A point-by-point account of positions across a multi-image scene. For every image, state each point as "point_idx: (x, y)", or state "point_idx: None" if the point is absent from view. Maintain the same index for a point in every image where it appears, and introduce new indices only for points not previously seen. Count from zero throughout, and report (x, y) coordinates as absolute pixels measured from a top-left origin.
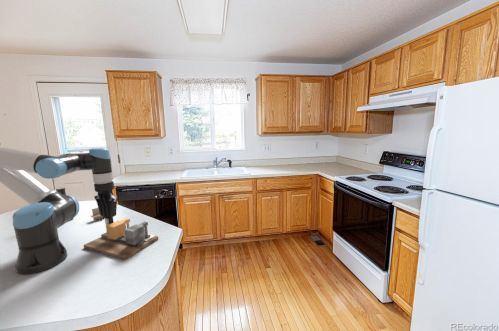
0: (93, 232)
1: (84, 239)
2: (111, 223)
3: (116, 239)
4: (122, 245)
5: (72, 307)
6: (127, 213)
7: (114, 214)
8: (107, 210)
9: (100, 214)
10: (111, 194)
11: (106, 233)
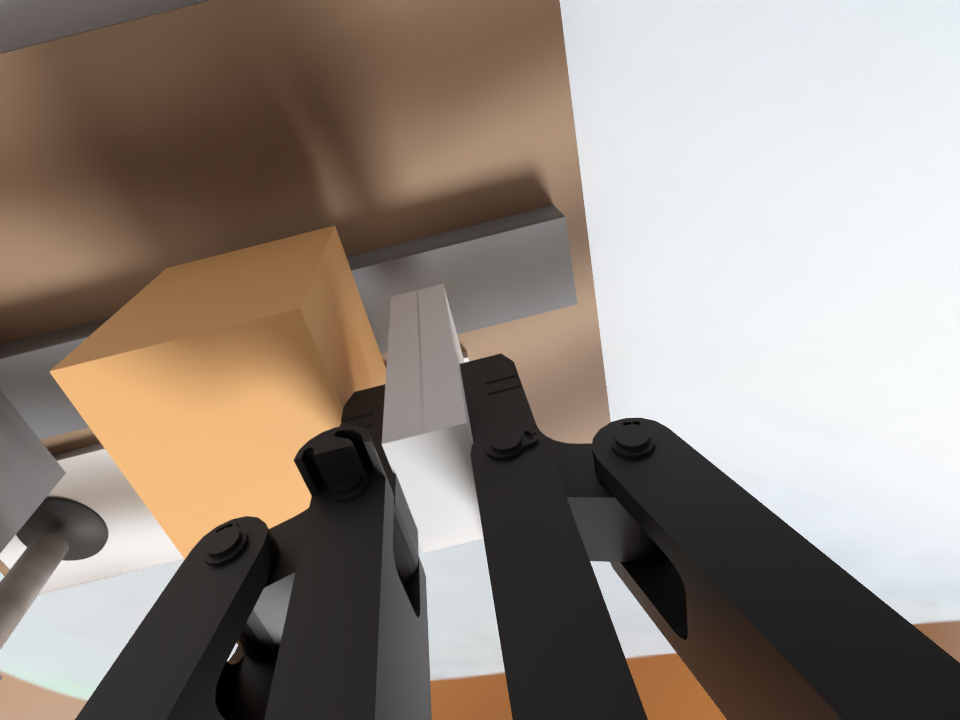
0: (879, 224)
1: (807, 61)
2: (337, 417)
3: None
4: (46, 281)
5: None
6: (918, 591)
7: (238, 643)
8: (288, 710)
9: (671, 434)
10: None
11: (538, 281)
